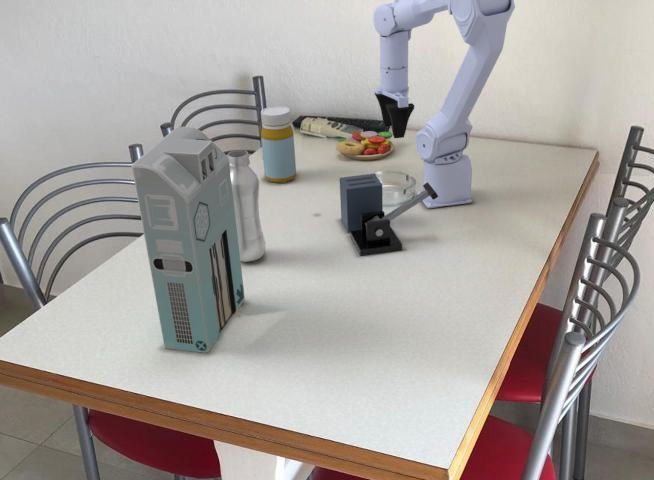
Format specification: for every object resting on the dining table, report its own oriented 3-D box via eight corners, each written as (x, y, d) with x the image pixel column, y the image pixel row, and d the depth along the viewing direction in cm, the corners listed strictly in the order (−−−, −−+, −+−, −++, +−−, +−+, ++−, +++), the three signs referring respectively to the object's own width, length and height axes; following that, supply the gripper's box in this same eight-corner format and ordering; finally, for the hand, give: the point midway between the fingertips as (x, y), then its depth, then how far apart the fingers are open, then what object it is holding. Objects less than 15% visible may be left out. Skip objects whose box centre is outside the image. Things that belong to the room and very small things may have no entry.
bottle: (300, 173, 194) (296, 106, 186) (289, 185, 189) (284, 117, 180) (272, 170, 196) (266, 104, 188) (260, 182, 191) (253, 114, 182)
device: (210, 354, 134) (182, 168, 117) (164, 348, 136) (130, 165, 119) (245, 302, 147) (225, 128, 130) (203, 298, 149) (178, 125, 132)
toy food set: (333, 161, 200) (332, 147, 198) (342, 141, 210) (341, 128, 208) (390, 162, 198) (390, 148, 196) (397, 142, 208) (397, 128, 206)
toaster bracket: (390, 231, 168) (390, 205, 165) (402, 250, 161) (402, 223, 158) (350, 236, 167) (349, 211, 164) (360, 255, 160) (359, 229, 157)
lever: (431, 189, 163) (426, 179, 161) (439, 199, 159) (434, 189, 157) (368, 229, 165) (362, 220, 163) (375, 240, 161) (369, 231, 159)
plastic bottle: (273, 252, 162) (263, 149, 151) (255, 268, 157) (244, 162, 146) (243, 247, 165) (231, 144, 153) (225, 262, 160) (211, 158, 148)
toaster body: (375, 216, 174) (374, 172, 169) (382, 228, 169) (382, 184, 164) (341, 220, 173) (339, 177, 168) (347, 233, 168) (346, 188, 163)
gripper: (366, 58, 181) (367, 122, 189) (384, 77, 170) (384, 144, 177) (398, 55, 182) (398, 119, 190) (418, 73, 171) (417, 141, 178)
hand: (394, 131), depth 184 cm, fingers open, 7 cm apart
